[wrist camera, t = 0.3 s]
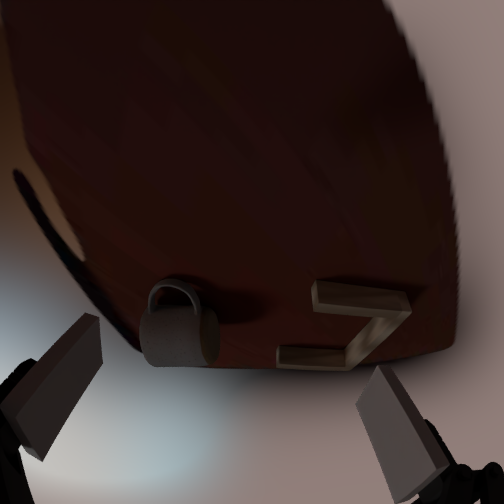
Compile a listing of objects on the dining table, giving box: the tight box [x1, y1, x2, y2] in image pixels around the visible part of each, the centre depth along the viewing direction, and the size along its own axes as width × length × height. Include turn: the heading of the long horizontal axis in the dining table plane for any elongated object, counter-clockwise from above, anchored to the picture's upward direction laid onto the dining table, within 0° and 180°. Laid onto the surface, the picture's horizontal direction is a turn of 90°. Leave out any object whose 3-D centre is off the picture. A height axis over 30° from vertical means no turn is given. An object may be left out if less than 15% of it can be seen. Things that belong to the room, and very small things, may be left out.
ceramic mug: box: [140, 279, 220, 367], centre depth 30 cm, size 11×8×8 cm
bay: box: [277, 280, 412, 371], centre depth 34 cm, size 17×12×3 cm
